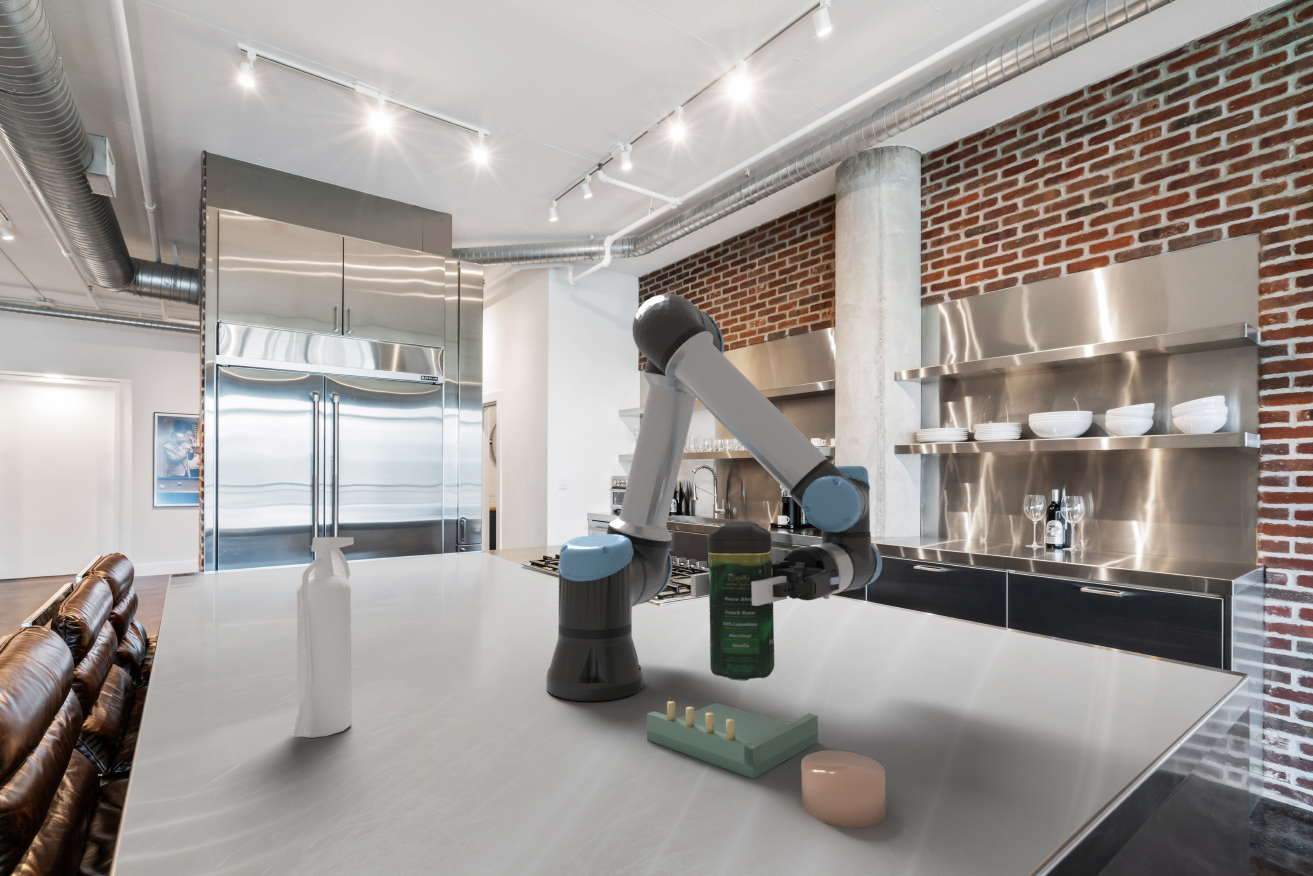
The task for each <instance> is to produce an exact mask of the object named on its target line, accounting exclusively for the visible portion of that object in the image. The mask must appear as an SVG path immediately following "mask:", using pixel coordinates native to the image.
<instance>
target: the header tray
mask: <svg viewBox="0 0 1313 876" xmlns="http://www.w3.org/2000/svg"><path fill="white" fill-rule="evenodd" d="M818 722H819V721H818V715H816V714H814V713H809V712H808V713H807V714H805V715H803V716H801V717H799V718H797V719H794V720H793V721H791V722H789V723H787V722H784V721H780V720H776V719H773V718H770V717H766V716H762V715H760V714H757V713H756V714H755V713H752V712H750V711H746V710H742V709H739V708H735V707H731V706H727V705H724V704H720V703H718V702H714V703H712V704H710V705H707V706H704V707H702V708H700V709H697V710H695V708H694V707H693V706H687V707H685V715H681V716H679V717H676V702H675V701H673V700H668V701H666V714H664V713H661V712H658V711H655V710H652V711H651V712H647V714H646V740H647V741H649V742H652V743H655V744H657V745H659V746H663V747H665V748H668V749H671V750H674V751H677V752H679V753H681V754H685V755H686V756H687V755H688V756H690V757H692V758H696V759H699V760H701V761H703V762H707V763H709V764H711V765H713V766H717V767H719V768H724V769H726V770H728V771H731V772H734V773H736V774H739V775H742V776H744V777H747V778H750V779H756V778H757V777H760V776H761V775H763V774H765V773H767V772H768V771H770V770H771V769H773V768H775V767H777V766H778V765H780V764H782V763H784V762H786V761H787V760H789V759H792V757H794V756H796V755H797V754H800V753H802V752H803V751H805V750H807V749H809V748H810V747H812V746H814V745H815V744H817V743H818V742H819V731H818V730H819V729H818V728H819V727H818Z"/></svg>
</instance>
